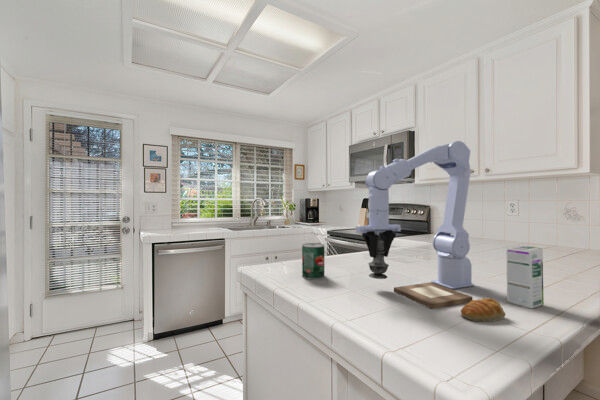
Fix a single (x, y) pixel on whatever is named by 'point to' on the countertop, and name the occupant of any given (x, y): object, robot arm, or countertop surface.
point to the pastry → (483, 310)
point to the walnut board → (432, 295)
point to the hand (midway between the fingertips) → (378, 256)
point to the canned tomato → (313, 261)
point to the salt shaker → (379, 262)
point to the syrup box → (525, 276)
